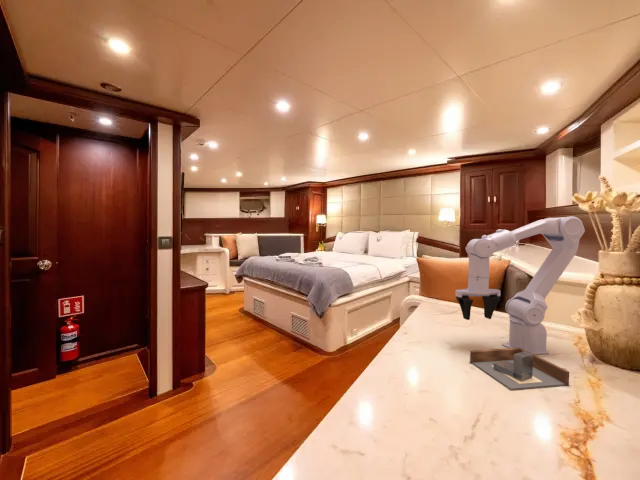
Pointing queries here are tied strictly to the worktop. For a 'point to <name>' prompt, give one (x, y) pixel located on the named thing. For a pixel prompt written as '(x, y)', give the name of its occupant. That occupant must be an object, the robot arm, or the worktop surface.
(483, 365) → the corner mat
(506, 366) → the angle bracket
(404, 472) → the worktop surface
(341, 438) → the worktop surface
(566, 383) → the corner walls
